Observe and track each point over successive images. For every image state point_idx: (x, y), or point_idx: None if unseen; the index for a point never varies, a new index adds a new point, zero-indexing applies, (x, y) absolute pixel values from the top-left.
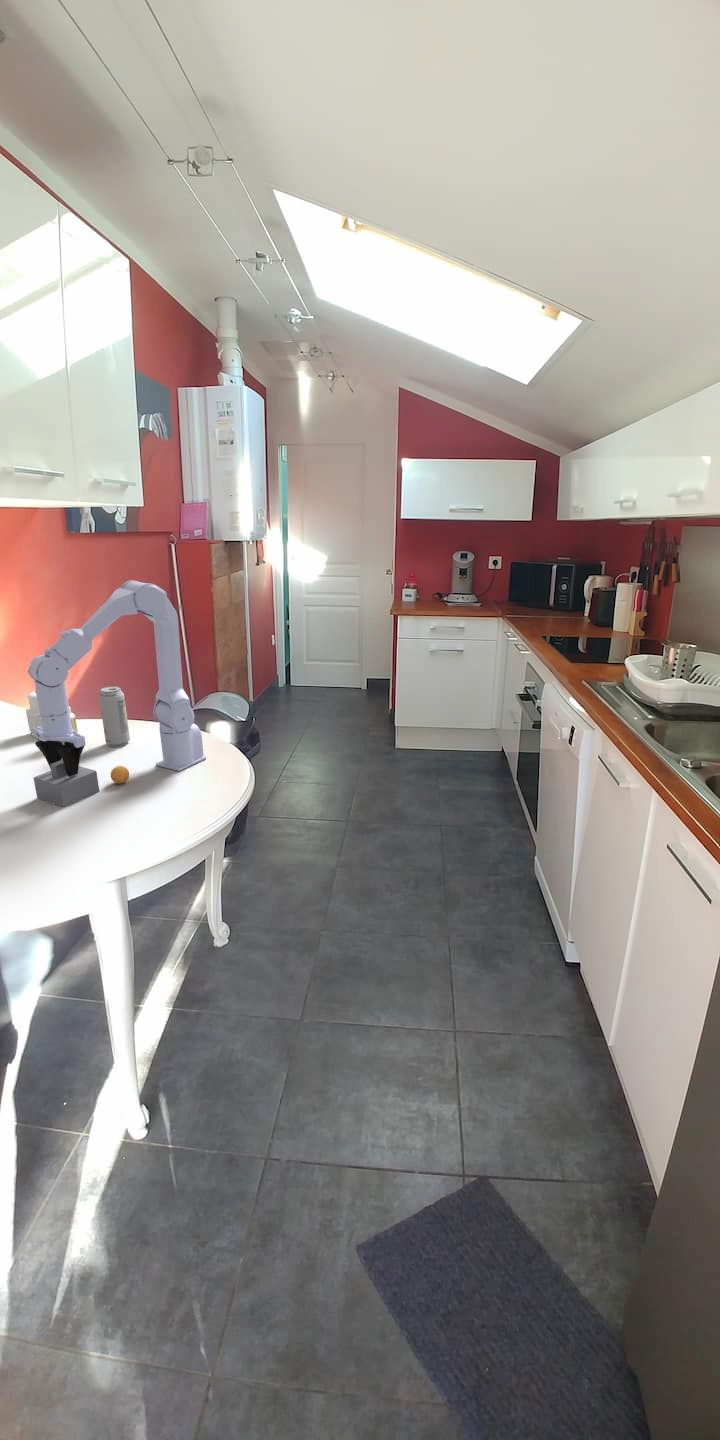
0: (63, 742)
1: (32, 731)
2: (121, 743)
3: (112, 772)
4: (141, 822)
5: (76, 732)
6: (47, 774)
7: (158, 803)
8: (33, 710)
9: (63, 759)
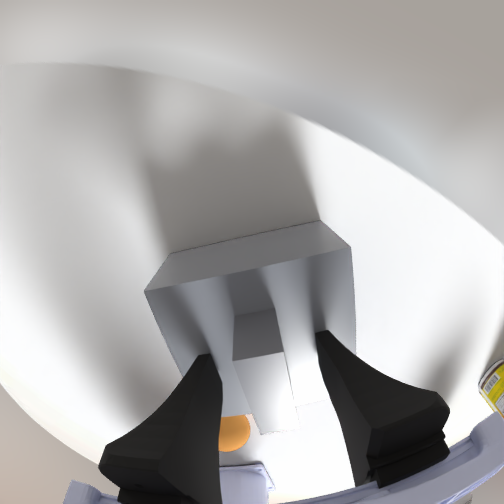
0: (496, 375)
1: None
2: None
3: (222, 429)
4: (10, 326)
5: None
6: (329, 305)
7: (69, 389)
8: None
9: (176, 413)
